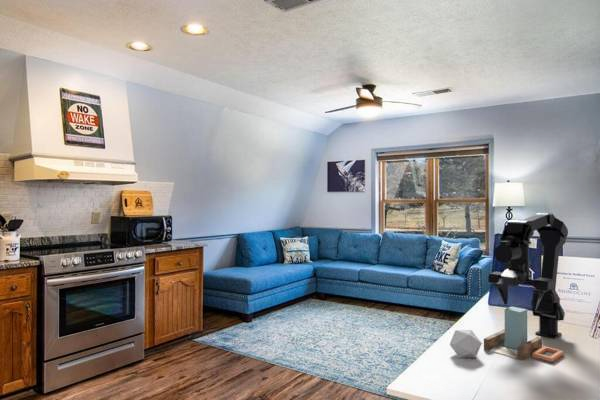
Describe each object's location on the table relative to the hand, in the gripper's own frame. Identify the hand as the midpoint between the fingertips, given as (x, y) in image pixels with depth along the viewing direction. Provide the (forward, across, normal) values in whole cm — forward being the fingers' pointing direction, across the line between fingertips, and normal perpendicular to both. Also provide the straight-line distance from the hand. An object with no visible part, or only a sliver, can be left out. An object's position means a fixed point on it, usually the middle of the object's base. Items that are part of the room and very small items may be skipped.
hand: (520, 306), depth 138 cm
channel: (+13, -1, -3) cm, 14 cm away
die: (+13, -8, -20) cm, 25 cm away
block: (+13, -1, -1) cm, 13 cm away
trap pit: (+13, +9, -2) cm, 16 cm away
